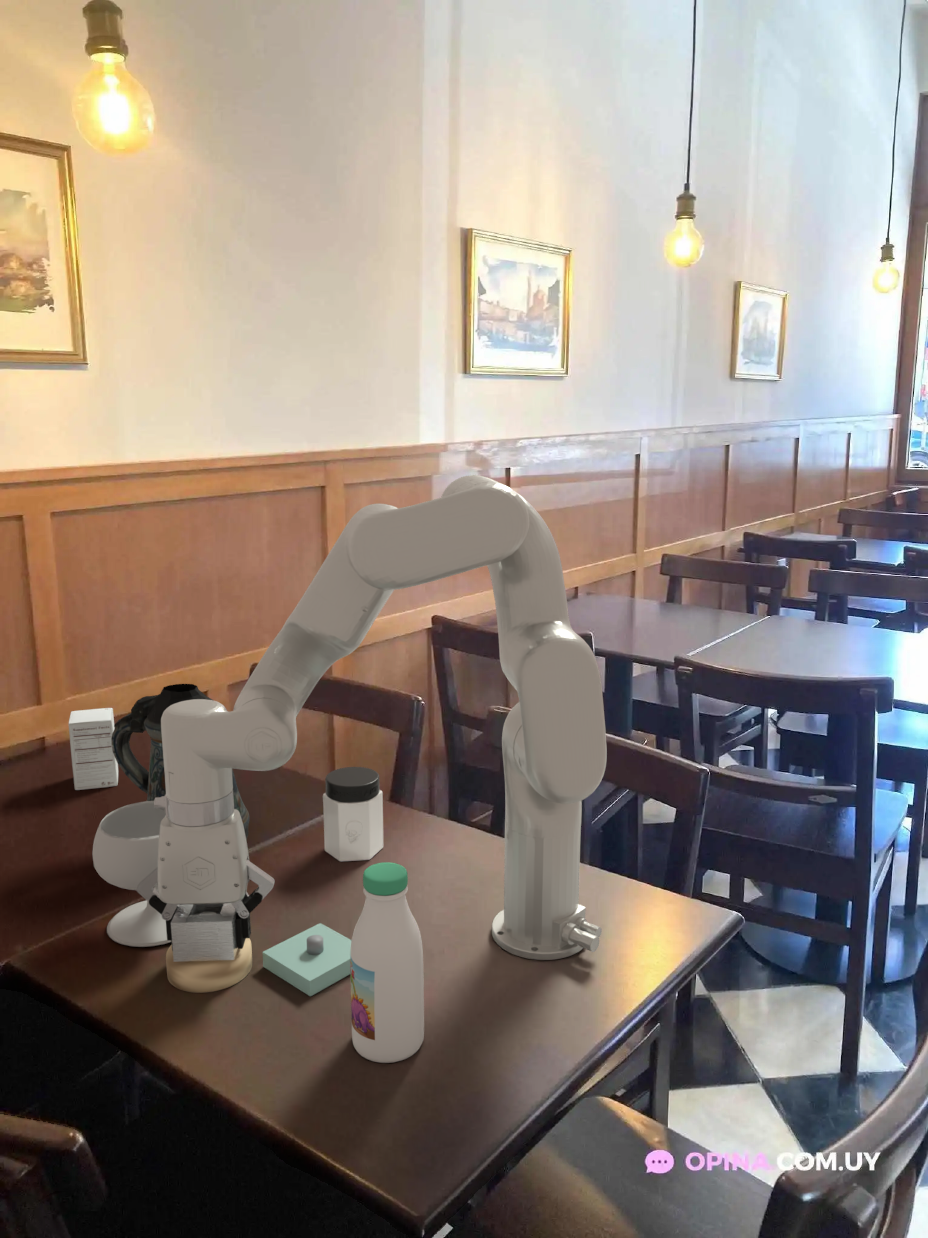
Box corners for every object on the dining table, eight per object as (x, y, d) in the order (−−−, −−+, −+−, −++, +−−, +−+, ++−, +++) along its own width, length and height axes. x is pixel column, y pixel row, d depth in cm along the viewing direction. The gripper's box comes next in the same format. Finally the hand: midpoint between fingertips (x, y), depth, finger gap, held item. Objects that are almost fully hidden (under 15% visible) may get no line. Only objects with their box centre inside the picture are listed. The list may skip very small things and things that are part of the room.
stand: (368, 963, 118) (367, 937, 118) (310, 996, 112) (309, 969, 111) (320, 937, 124) (319, 912, 124) (263, 966, 118) (261, 940, 117)
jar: (324, 863, 144) (322, 788, 141) (324, 839, 152) (322, 767, 149) (384, 860, 145) (383, 785, 143) (382, 836, 153) (380, 765, 150)
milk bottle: (424, 1018, 108) (423, 853, 104) (423, 1064, 101) (422, 888, 96) (355, 1019, 108) (350, 854, 103) (349, 1066, 100) (344, 889, 96)
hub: (269, 966, 118) (266, 914, 116) (197, 1003, 111) (193, 948, 109) (221, 936, 124) (218, 886, 123) (151, 969, 117) (147, 917, 116)
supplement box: (76, 776, 178) (70, 710, 175) (119, 771, 180) (114, 706, 177) (73, 791, 171) (67, 723, 168) (118, 786, 173) (112, 719, 170)
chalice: (83, 920, 128) (73, 815, 125) (183, 887, 137) (176, 788, 134) (123, 966, 118) (114, 853, 114) (229, 927, 127) (223, 821, 123)
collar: (234, 959, 114) (231, 921, 113) (173, 961, 113) (170, 922, 112) (244, 928, 120) (242, 891, 119) (187, 929, 120) (184, 892, 119)
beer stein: (258, 855, 147) (251, 697, 141) (123, 877, 140) (110, 712, 134) (241, 813, 162) (233, 668, 156) (118, 831, 155) (105, 681, 149)
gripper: (115, 821, 109) (127, 963, 113) (271, 817, 110) (278, 958, 114) (134, 794, 116) (145, 929, 120) (280, 791, 117) (286, 925, 121)
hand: (209, 942), depth 117 cm, fingers closed on collar, 7 cm apart
